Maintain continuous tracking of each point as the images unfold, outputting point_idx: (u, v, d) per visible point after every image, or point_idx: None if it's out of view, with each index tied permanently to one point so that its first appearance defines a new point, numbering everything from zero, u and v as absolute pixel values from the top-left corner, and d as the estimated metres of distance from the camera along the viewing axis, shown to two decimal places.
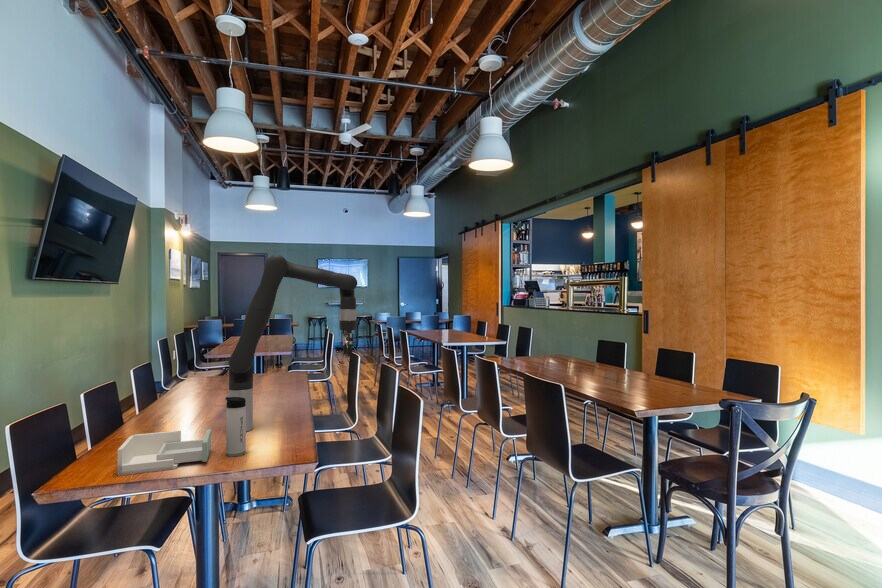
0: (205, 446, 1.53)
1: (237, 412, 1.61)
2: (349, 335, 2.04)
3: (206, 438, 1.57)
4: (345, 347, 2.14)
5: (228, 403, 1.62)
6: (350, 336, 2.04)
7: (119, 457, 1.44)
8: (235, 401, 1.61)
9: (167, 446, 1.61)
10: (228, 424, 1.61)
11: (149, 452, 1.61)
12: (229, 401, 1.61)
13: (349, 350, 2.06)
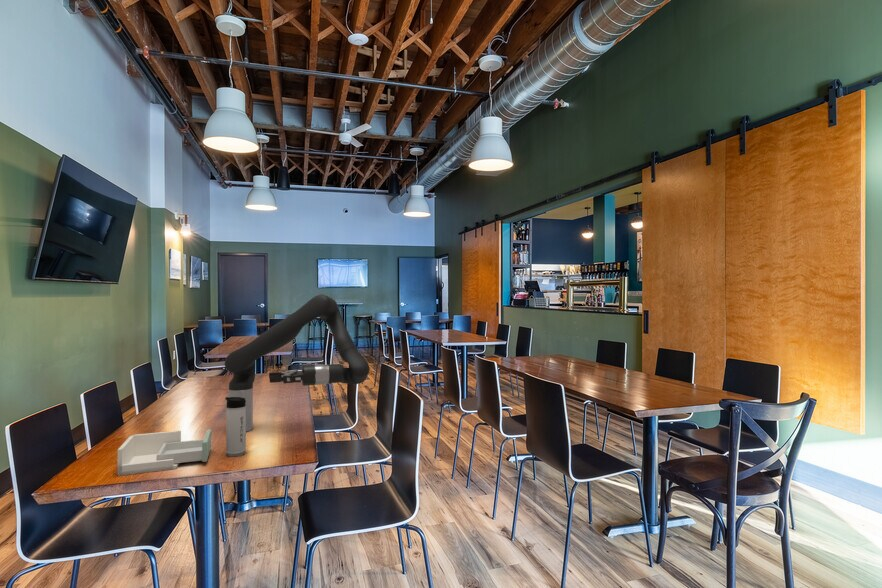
0: (205, 446, 1.53)
1: (237, 412, 1.61)
2: (298, 377, 1.66)
3: (206, 438, 1.57)
4: (278, 374, 1.73)
5: (228, 403, 1.62)
6: (297, 378, 1.65)
7: (119, 457, 1.44)
8: (235, 401, 1.61)
9: (167, 446, 1.61)
10: (228, 424, 1.61)
11: (149, 452, 1.61)
12: (229, 401, 1.61)
13: (278, 378, 1.65)
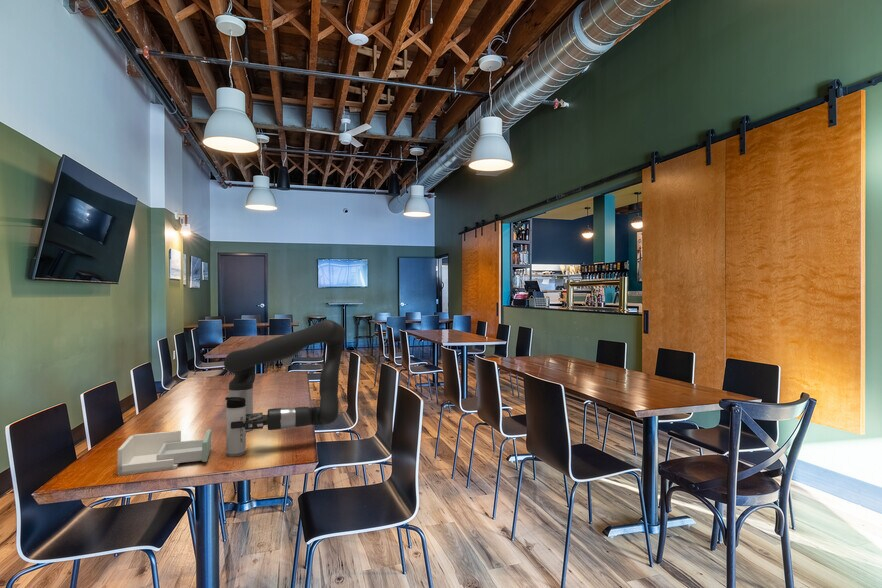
0: (205, 446, 1.53)
1: (237, 412, 1.61)
2: (260, 423, 1.61)
3: (206, 438, 1.57)
4: None
5: (228, 403, 1.62)
6: (258, 424, 1.61)
7: (119, 457, 1.44)
8: (235, 401, 1.61)
9: (167, 446, 1.61)
10: (228, 424, 1.61)
11: (149, 452, 1.61)
12: (229, 401, 1.61)
13: (239, 424, 1.60)
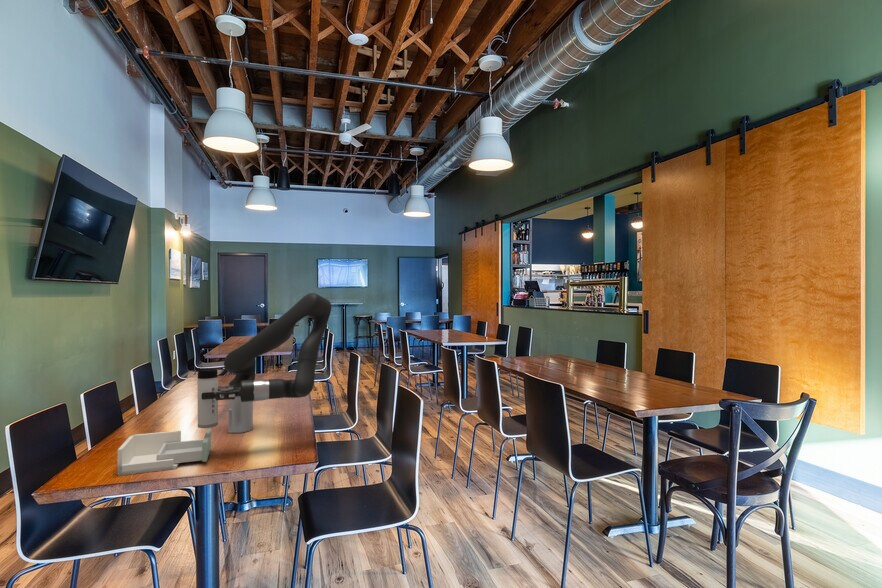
0: (205, 446, 1.53)
1: (208, 382, 1.58)
2: (231, 393, 1.58)
3: (206, 438, 1.57)
4: None
5: (199, 374, 1.58)
6: (230, 395, 1.57)
7: (119, 457, 1.44)
8: (206, 371, 1.58)
9: (167, 446, 1.61)
10: (199, 395, 1.58)
11: (149, 452, 1.61)
12: (200, 371, 1.58)
13: (210, 395, 1.57)
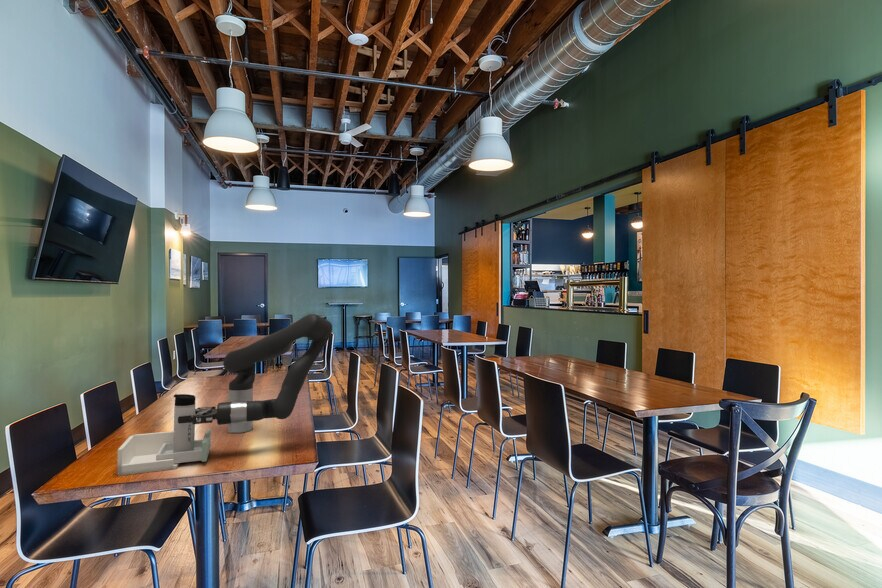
0: (205, 446, 1.53)
1: (185, 410, 1.55)
2: (209, 417, 1.55)
3: (206, 438, 1.57)
4: None
5: (176, 400, 1.56)
6: (207, 418, 1.55)
7: (119, 457, 1.44)
8: (183, 399, 1.55)
9: (167, 446, 1.61)
10: (175, 422, 1.55)
11: (149, 452, 1.61)
12: (177, 398, 1.55)
13: (187, 419, 1.54)
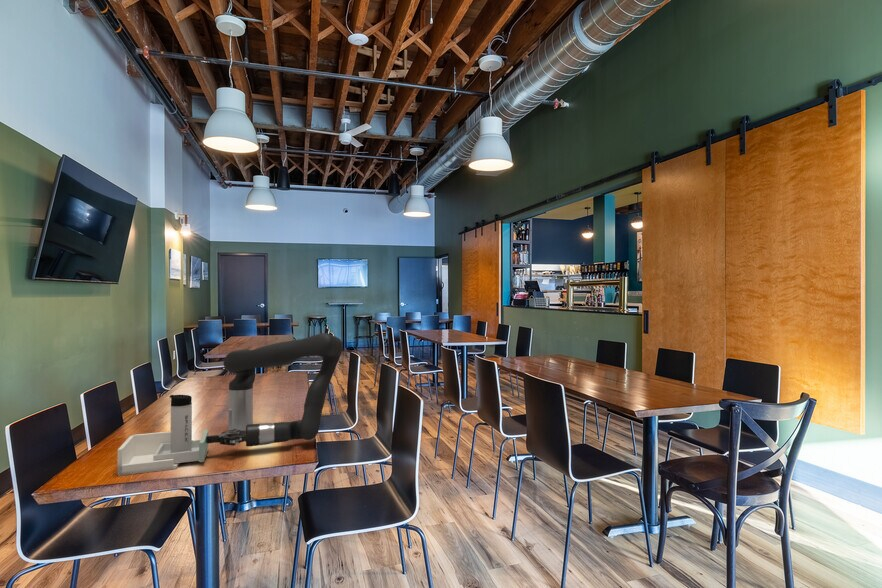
0: (202, 446, 1.53)
1: (181, 410, 1.55)
2: (231, 440, 1.58)
3: (203, 438, 1.57)
4: None
5: (172, 401, 1.55)
6: (230, 441, 1.58)
7: (119, 457, 1.44)
8: (179, 399, 1.55)
9: (164, 446, 1.61)
10: (172, 423, 1.55)
11: (149, 452, 1.61)
12: (173, 399, 1.55)
13: (215, 439, 1.60)
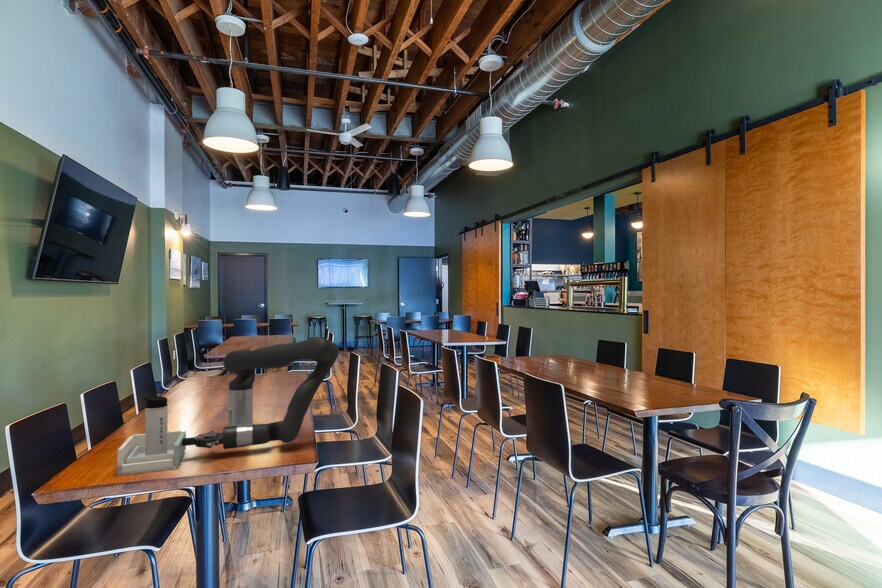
0: (177, 449, 1.50)
1: (156, 412, 1.52)
2: (207, 442, 1.56)
3: (179, 441, 1.54)
4: None
5: (147, 403, 1.53)
6: (206, 443, 1.56)
7: (119, 457, 1.44)
8: (154, 401, 1.52)
9: (140, 449, 1.58)
10: (147, 425, 1.52)
11: None
12: (148, 401, 1.52)
13: (191, 441, 1.58)
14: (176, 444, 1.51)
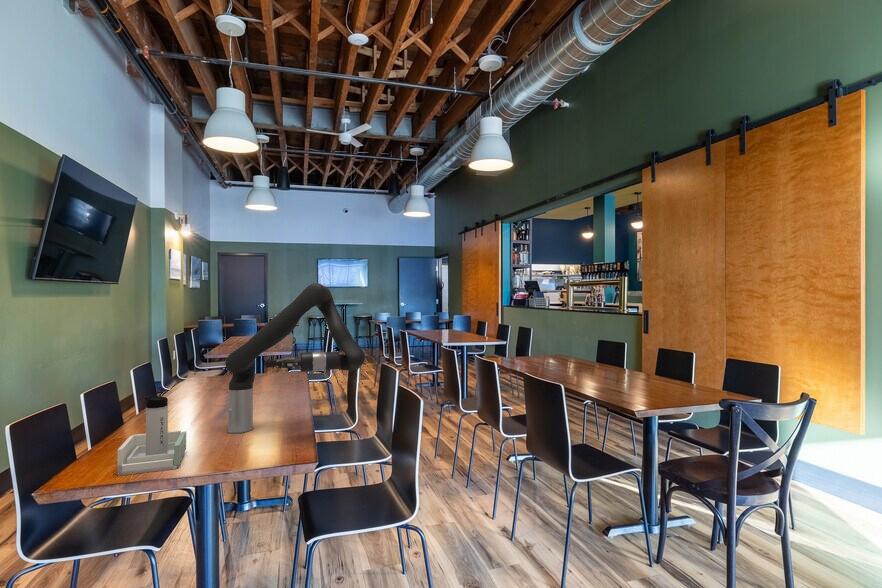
0: (177, 449, 1.50)
1: (156, 412, 1.52)
2: (289, 363, 1.73)
3: (179, 441, 1.54)
4: None
5: (147, 403, 1.53)
6: (288, 364, 1.73)
7: (119, 457, 1.44)
8: (154, 401, 1.52)
9: (140, 449, 1.58)
10: (147, 425, 1.52)
11: None
12: (148, 401, 1.52)
13: (273, 363, 1.75)
14: (176, 444, 1.51)
